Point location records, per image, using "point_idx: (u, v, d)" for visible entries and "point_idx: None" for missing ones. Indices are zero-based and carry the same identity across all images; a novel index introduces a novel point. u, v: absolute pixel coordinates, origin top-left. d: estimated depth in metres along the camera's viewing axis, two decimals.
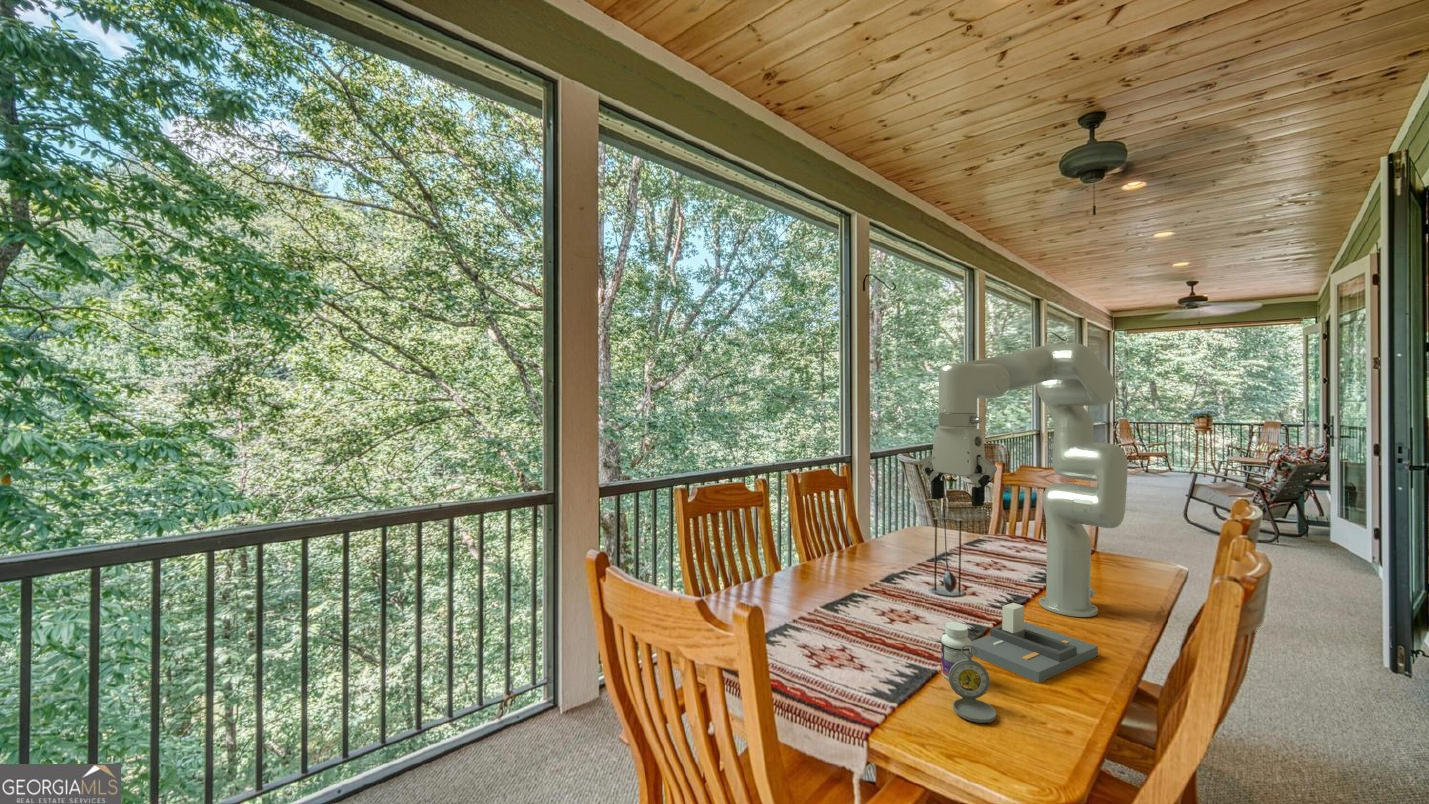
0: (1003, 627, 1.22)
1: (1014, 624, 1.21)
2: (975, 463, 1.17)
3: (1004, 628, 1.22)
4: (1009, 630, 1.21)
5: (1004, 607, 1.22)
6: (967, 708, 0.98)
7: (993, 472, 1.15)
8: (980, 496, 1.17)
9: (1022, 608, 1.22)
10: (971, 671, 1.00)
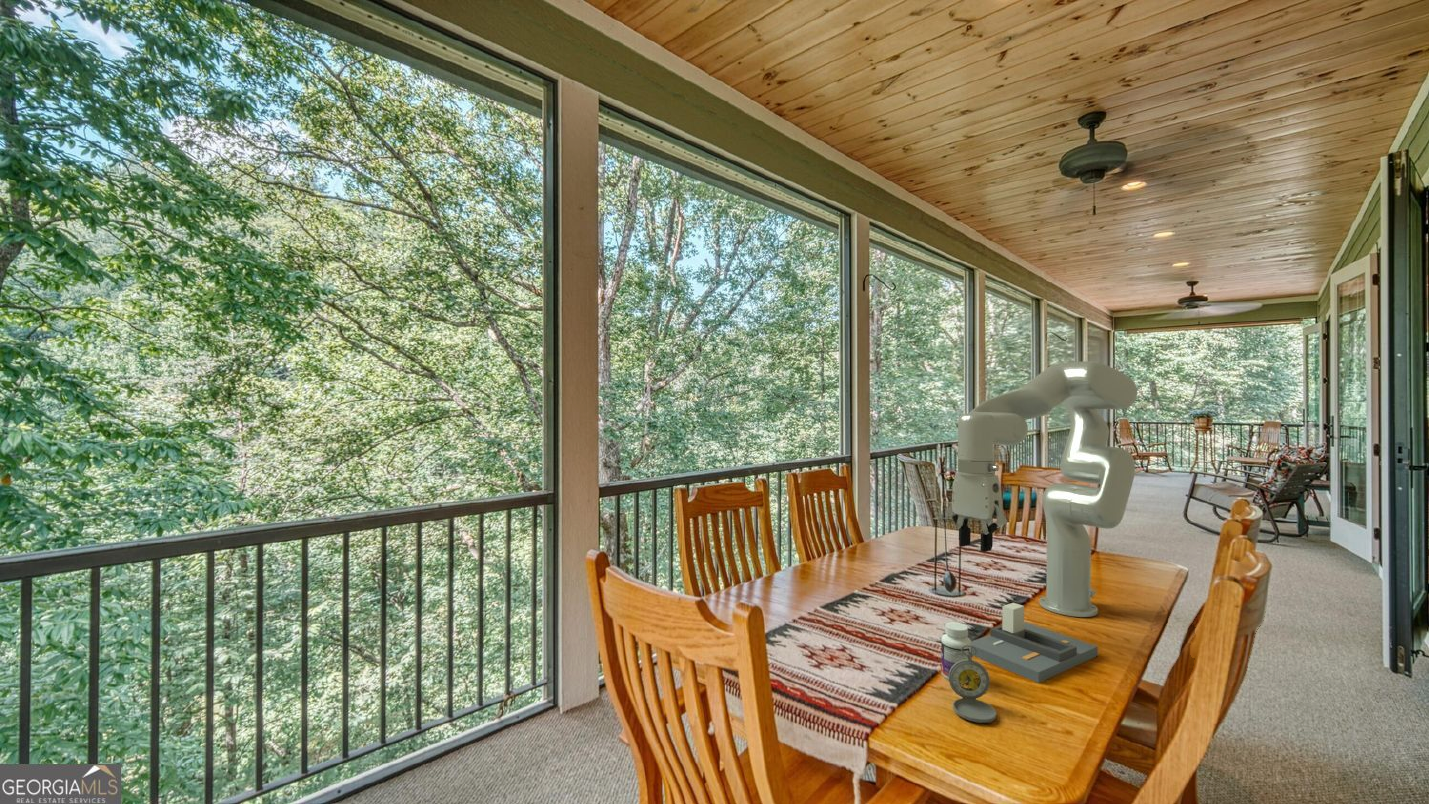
0: (1003, 627, 1.22)
1: (1014, 624, 1.21)
2: (993, 508, 1.25)
3: (1004, 628, 1.22)
4: (1009, 630, 1.21)
5: (1004, 607, 1.22)
6: (967, 708, 0.98)
7: (1002, 524, 1.24)
8: (988, 542, 1.27)
9: (1022, 608, 1.22)
10: (971, 671, 1.00)
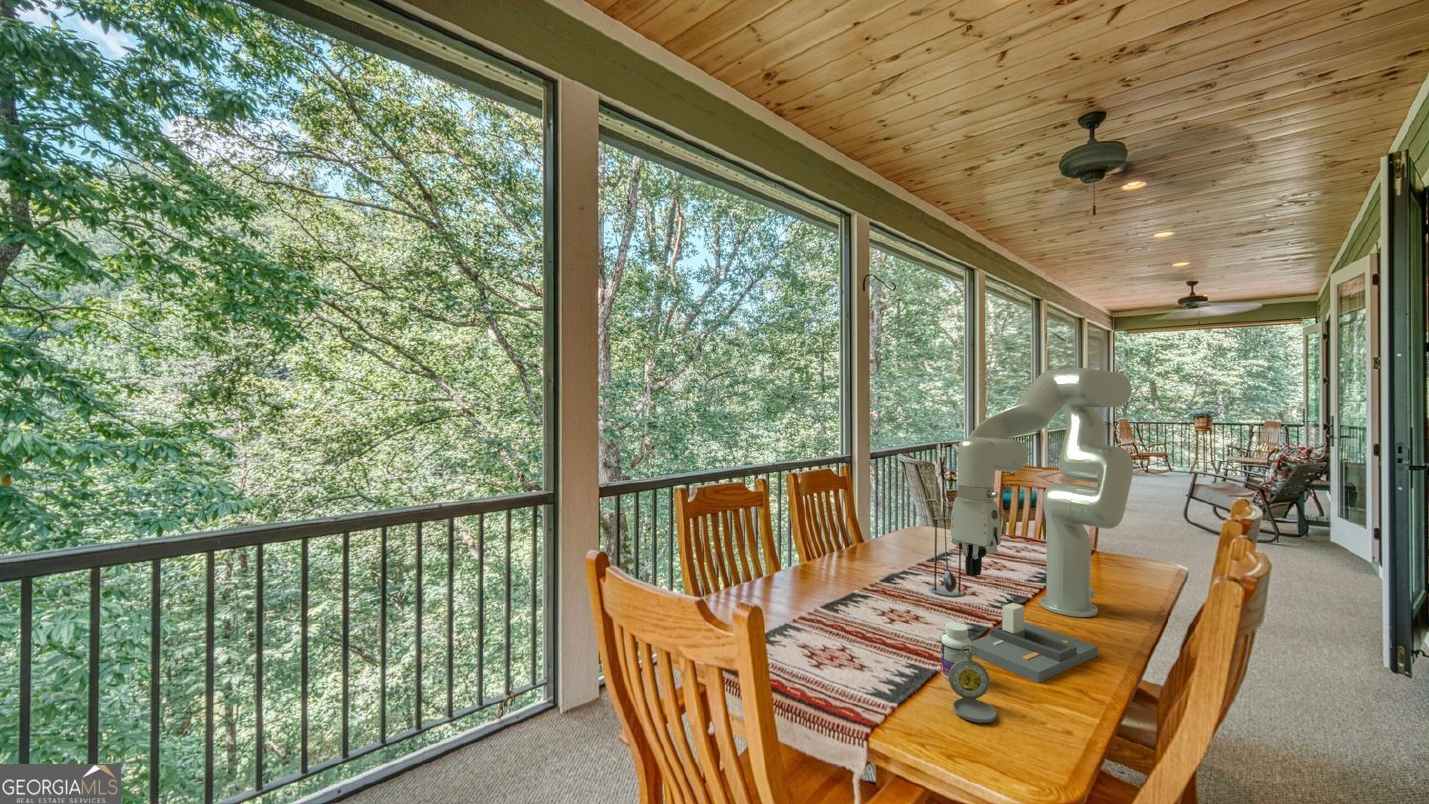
0: (1003, 627, 1.22)
1: (1014, 624, 1.21)
2: (992, 535, 1.25)
3: (1004, 628, 1.22)
4: (1009, 630, 1.21)
5: (1004, 607, 1.22)
6: (967, 708, 0.98)
7: None
8: (977, 567, 1.28)
9: (1022, 608, 1.22)
10: (971, 671, 1.00)
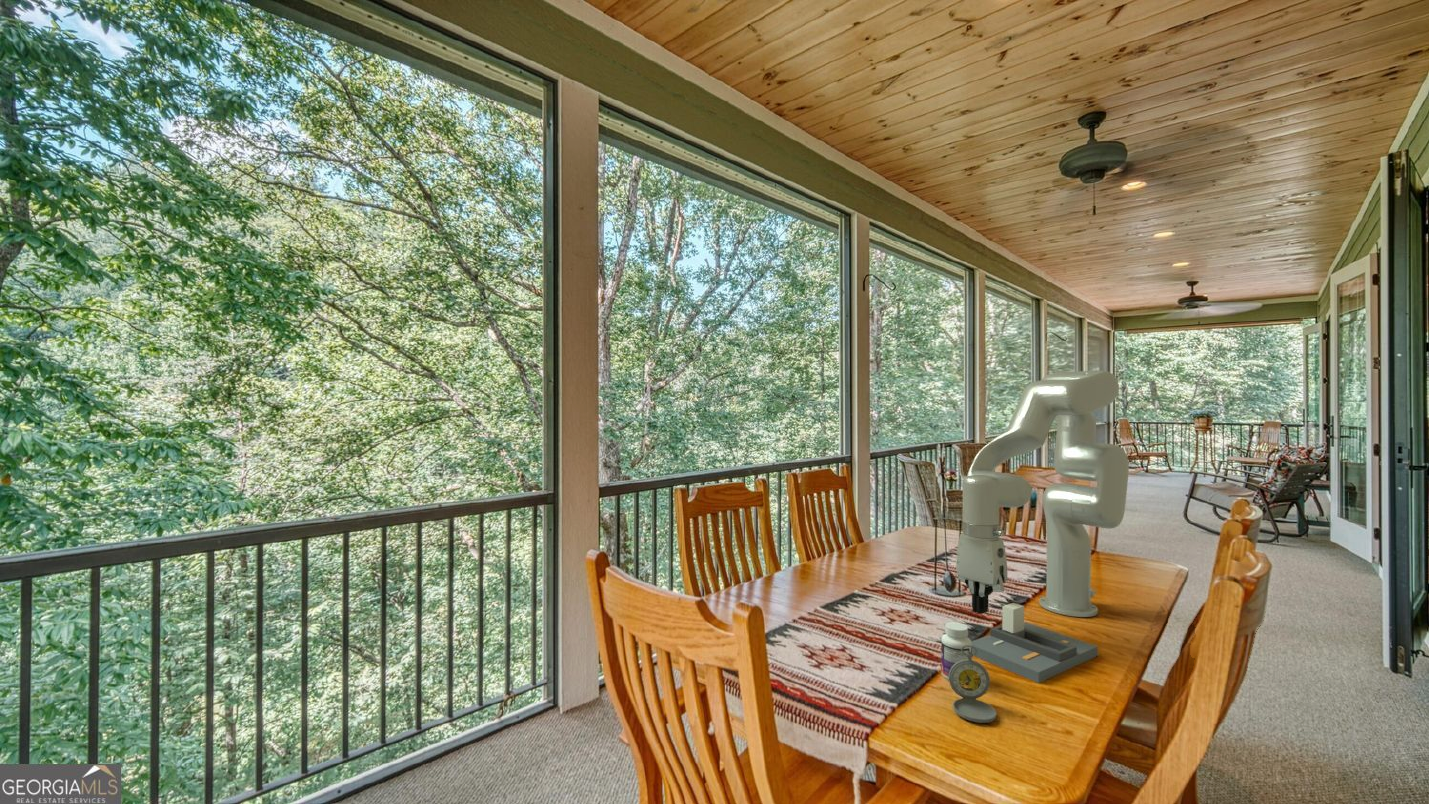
0: (1003, 627, 1.22)
1: (1014, 624, 1.21)
2: (998, 574, 1.24)
3: (1004, 628, 1.22)
4: (1009, 630, 1.21)
5: (1004, 607, 1.22)
6: (967, 708, 0.98)
7: (998, 591, 1.25)
8: (984, 604, 1.28)
9: (1022, 608, 1.22)
10: (971, 671, 1.00)
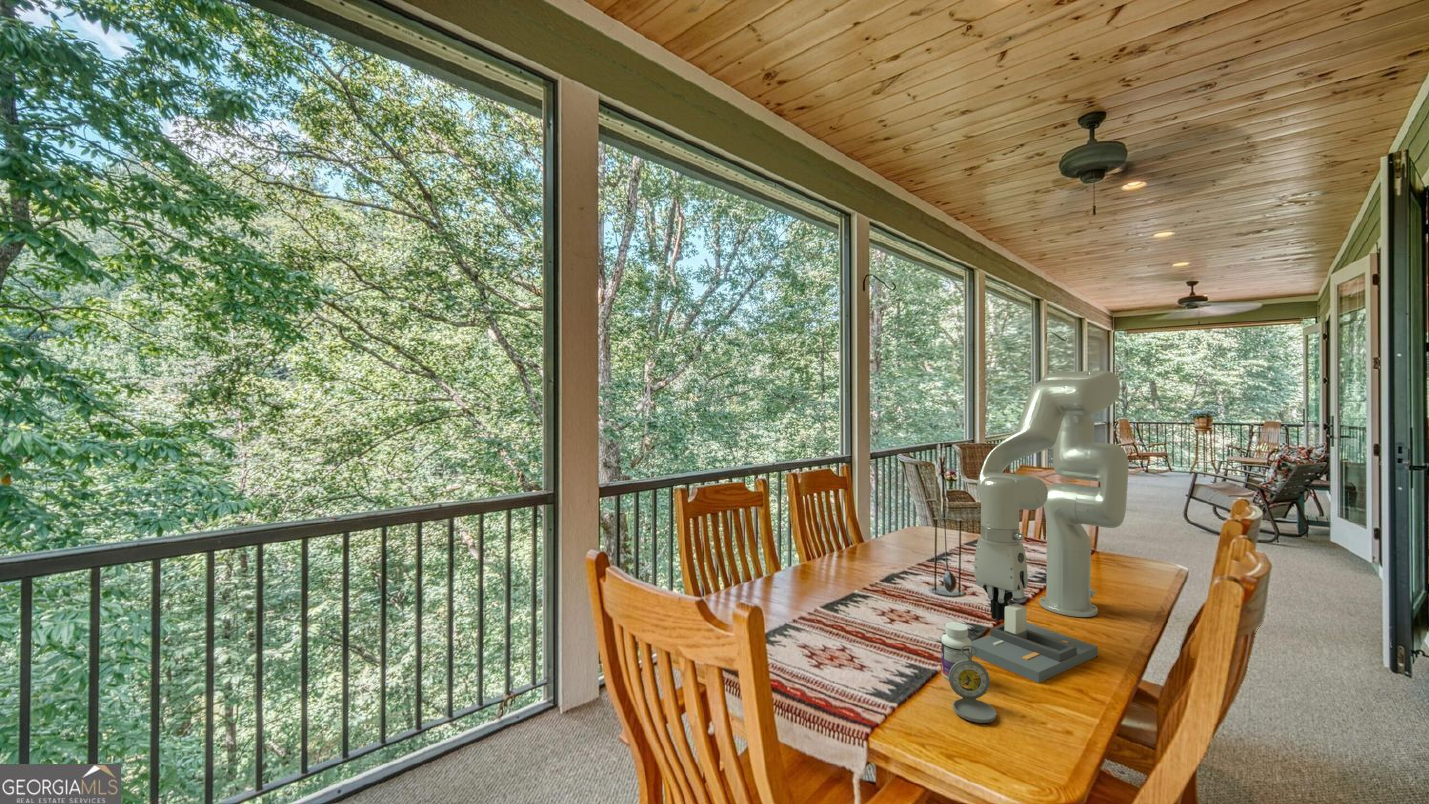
0: (1005, 628, 1.22)
1: (1016, 625, 1.20)
2: (1018, 579, 1.20)
3: (1006, 629, 1.22)
4: (1011, 631, 1.21)
5: (1006, 608, 1.22)
6: (967, 708, 0.98)
7: (1018, 597, 1.21)
8: (1003, 611, 1.24)
9: (1024, 609, 1.22)
10: (971, 671, 1.00)
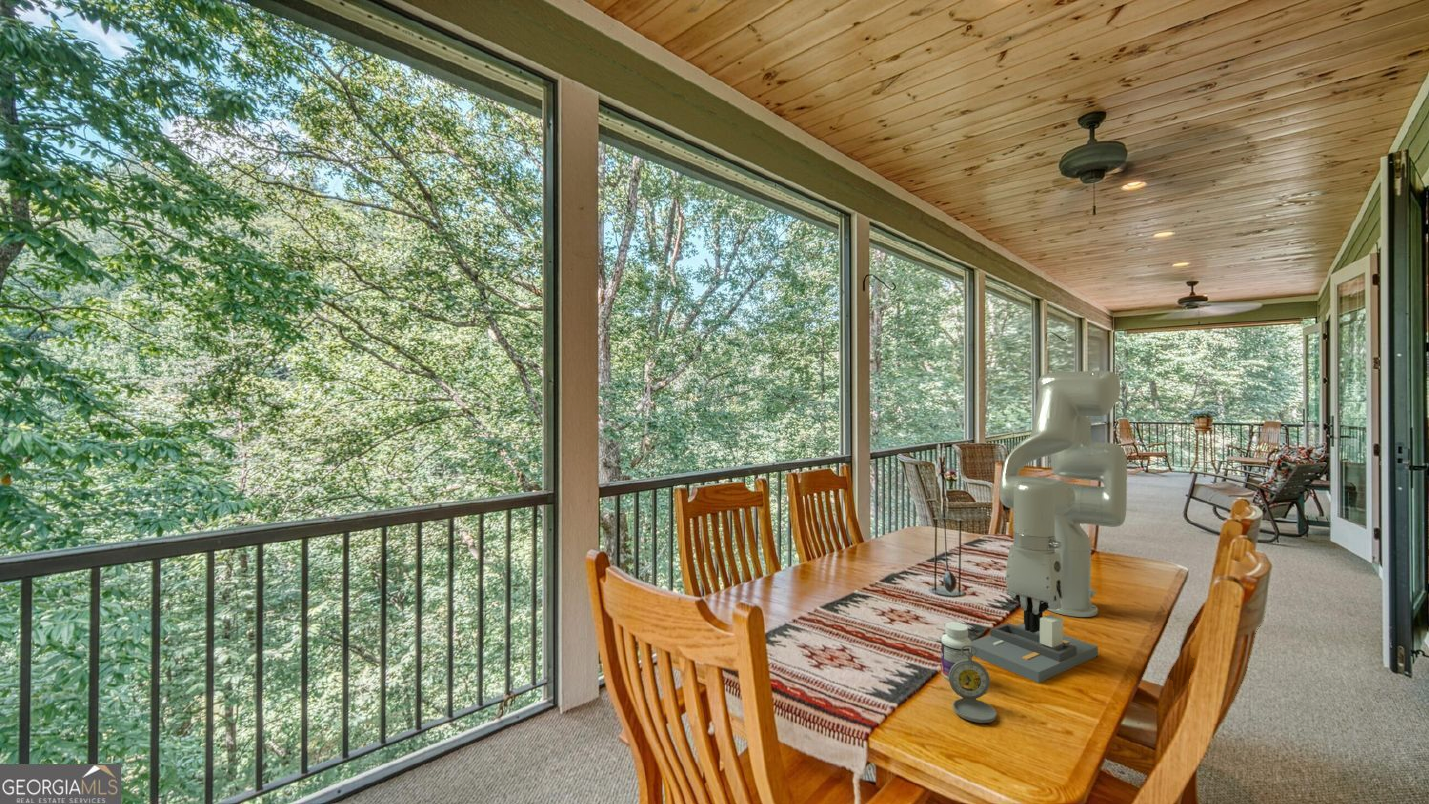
0: (1041, 640, 1.15)
1: (1053, 638, 1.14)
2: (1055, 589, 1.14)
3: (1042, 642, 1.15)
4: (1047, 644, 1.14)
5: (1042, 619, 1.15)
6: (967, 708, 0.98)
7: (1054, 608, 1.15)
8: (1038, 622, 1.17)
9: (1061, 620, 1.15)
10: (971, 671, 1.00)
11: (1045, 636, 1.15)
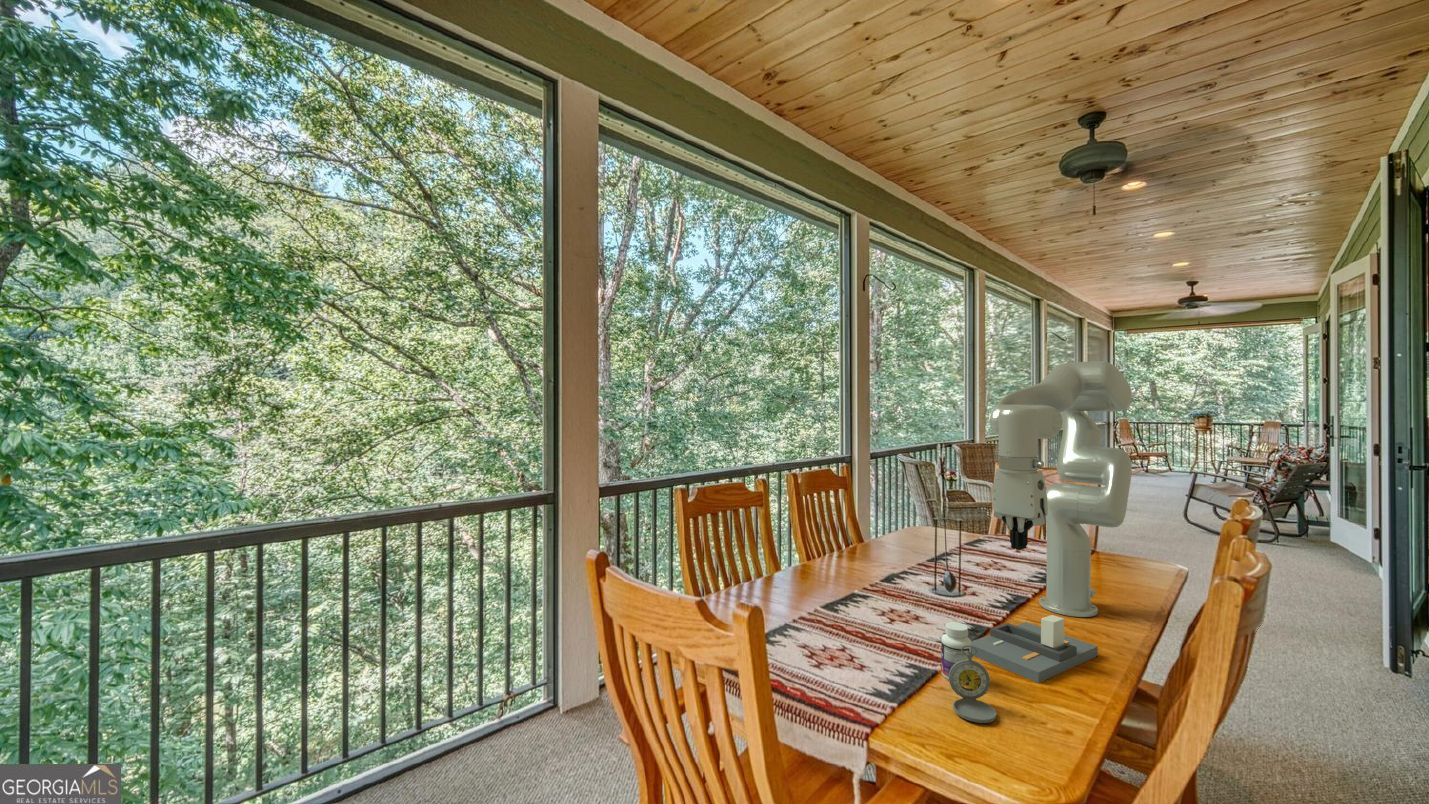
0: (1042, 641, 1.15)
1: (1054, 638, 1.14)
2: (1039, 507, 1.19)
3: (1043, 642, 1.15)
4: (1049, 644, 1.14)
5: (1043, 620, 1.15)
6: (967, 708, 0.98)
7: None
8: (1023, 540, 1.23)
9: (1062, 621, 1.15)
10: (971, 671, 1.00)
11: (1046, 636, 1.15)
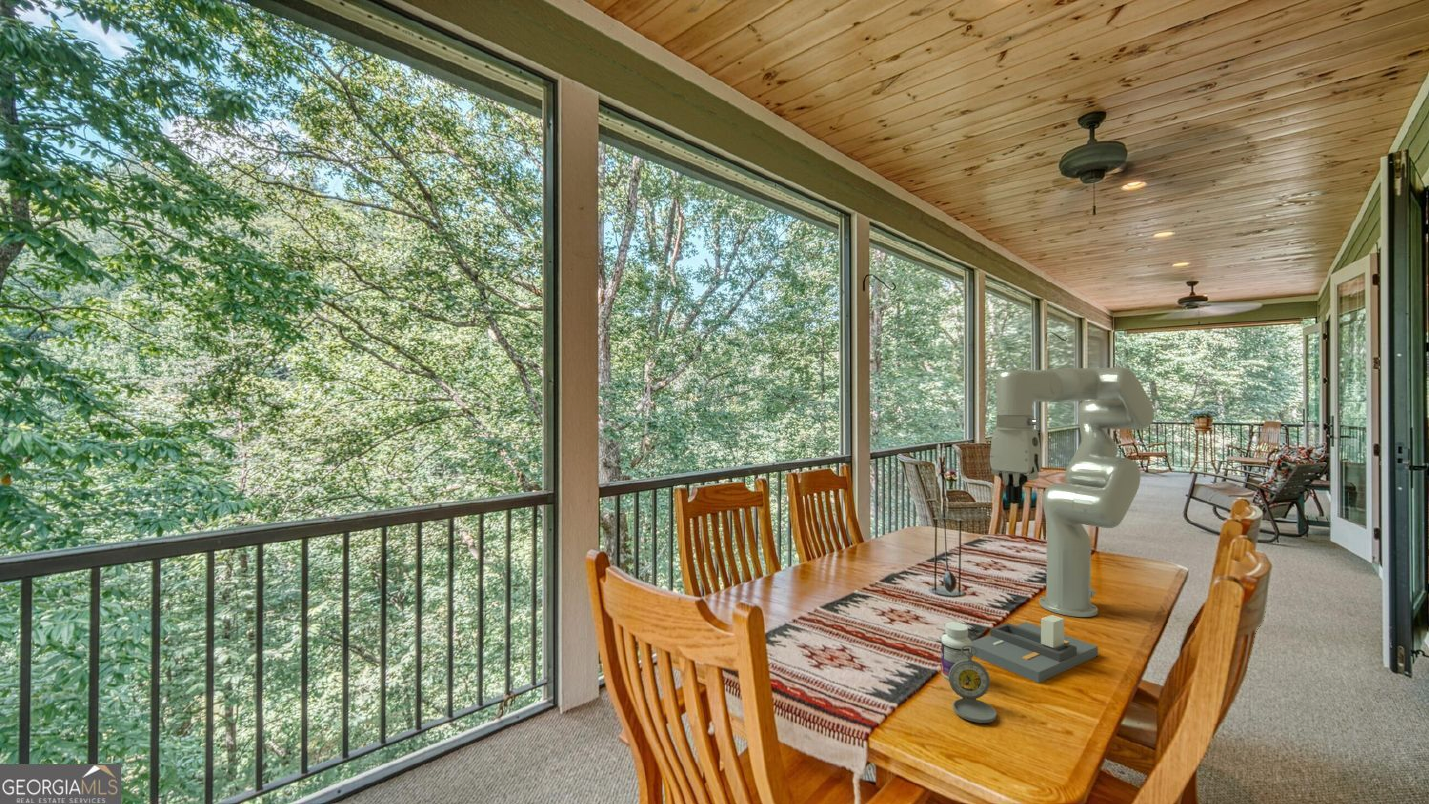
0: (1042, 641, 1.15)
1: (1054, 638, 1.14)
2: (1033, 461, 1.28)
3: (1043, 642, 1.15)
4: (1049, 644, 1.14)
5: (1043, 620, 1.15)
6: (967, 708, 0.98)
7: (1032, 479, 1.29)
8: (1018, 494, 1.31)
9: (1062, 621, 1.15)
10: (971, 671, 1.00)
11: (1046, 636, 1.15)
